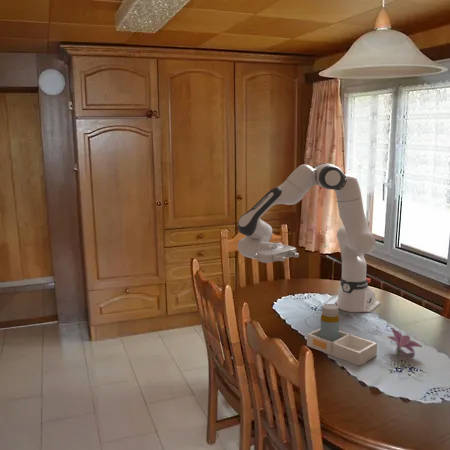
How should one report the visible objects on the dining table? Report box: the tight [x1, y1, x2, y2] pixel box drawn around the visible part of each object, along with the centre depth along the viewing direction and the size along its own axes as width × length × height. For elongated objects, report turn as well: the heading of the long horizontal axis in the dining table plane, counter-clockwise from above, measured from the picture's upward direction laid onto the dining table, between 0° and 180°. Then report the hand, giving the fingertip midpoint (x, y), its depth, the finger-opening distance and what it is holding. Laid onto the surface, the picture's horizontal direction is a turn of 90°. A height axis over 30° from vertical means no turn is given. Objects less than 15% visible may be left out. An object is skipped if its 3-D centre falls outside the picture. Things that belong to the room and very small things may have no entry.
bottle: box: [319, 303, 340, 342], centre depth 184 cm, size 7×7×15 cm
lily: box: [387, 328, 423, 358], centre depth 177 cm, size 12×12×10 cm
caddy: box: [306, 328, 378, 366], centre depth 180 cm, size 12×23×5 cm, turn 43°
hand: (290, 257), depth 201 cm, fingers open, 8 cm apart
